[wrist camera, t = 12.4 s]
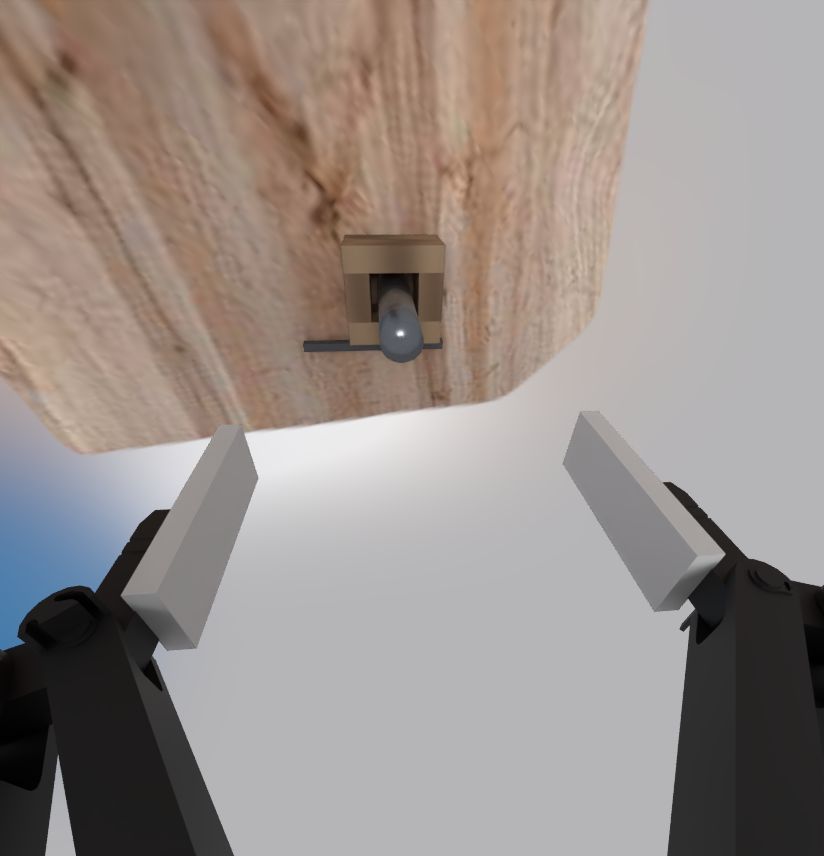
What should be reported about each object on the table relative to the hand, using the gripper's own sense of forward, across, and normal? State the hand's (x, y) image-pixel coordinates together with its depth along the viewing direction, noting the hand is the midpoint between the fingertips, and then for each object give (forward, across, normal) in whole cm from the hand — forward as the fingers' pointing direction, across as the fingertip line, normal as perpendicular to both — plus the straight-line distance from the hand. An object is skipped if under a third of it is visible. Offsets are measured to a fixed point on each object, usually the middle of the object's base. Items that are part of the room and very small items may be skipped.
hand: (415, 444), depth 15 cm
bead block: (+24, 0, 0) cm, 25 cm away
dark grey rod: (+24, -2, -6) cm, 25 cm away
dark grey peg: (+24, 0, 0) cm, 25 cm away
